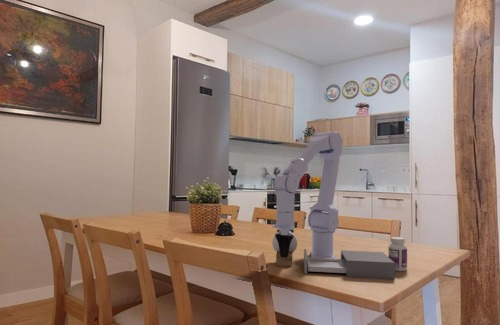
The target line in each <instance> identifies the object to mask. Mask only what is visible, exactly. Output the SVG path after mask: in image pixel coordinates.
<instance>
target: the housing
mask: <svg viewBox="0 0 500 325" xmlns="http://www.w3.org/2000/svg"><path fill="white" fill-rule="evenodd" d="M340 259H345V261H346V262H347V273H344V274H345V275H346V277H348V278H362V279H363V278H365V279H382V280H383V279H384V280H385V279H386V280H395V279H396V277H395V276H396V275H395V274H396V273H395V263H394V262H393V261H392V260H391V259H390V258H389V255H387V254H386V253H384V252H383V251H364V250H363V251H362V250H343V249H341V250H340Z"/></svg>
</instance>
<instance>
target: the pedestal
mask: <svg viewBox="0 0 500 325" xmlns="http://www.w3.org/2000/svg"><path fill="white" fill-rule="evenodd" d="M275 266H277V267H278V266H280V267H293V253H292V252H289V253H288V257H287V258H286V257H281V256H280V251H277V252H276V254H275Z"/></svg>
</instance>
